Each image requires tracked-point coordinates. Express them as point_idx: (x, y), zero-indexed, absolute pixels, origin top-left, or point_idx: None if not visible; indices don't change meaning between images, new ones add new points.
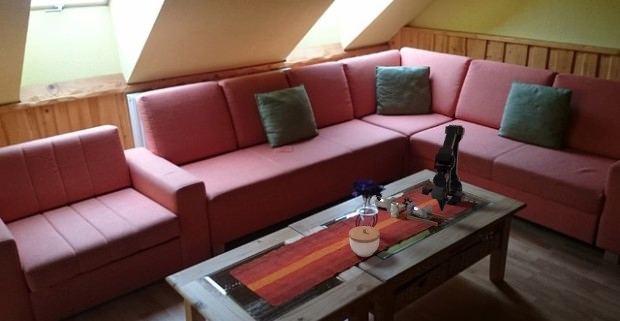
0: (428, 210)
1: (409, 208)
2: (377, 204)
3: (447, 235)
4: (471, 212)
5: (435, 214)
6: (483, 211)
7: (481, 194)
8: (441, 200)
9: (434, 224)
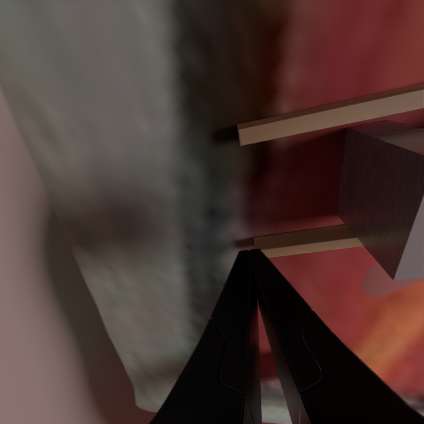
0: (404, 204)
1: None
2: None
3: (68, 37)
4: None
5: (323, 242)
6: (175, 358)
7: None
8: (301, 422)
9: (261, 121)
